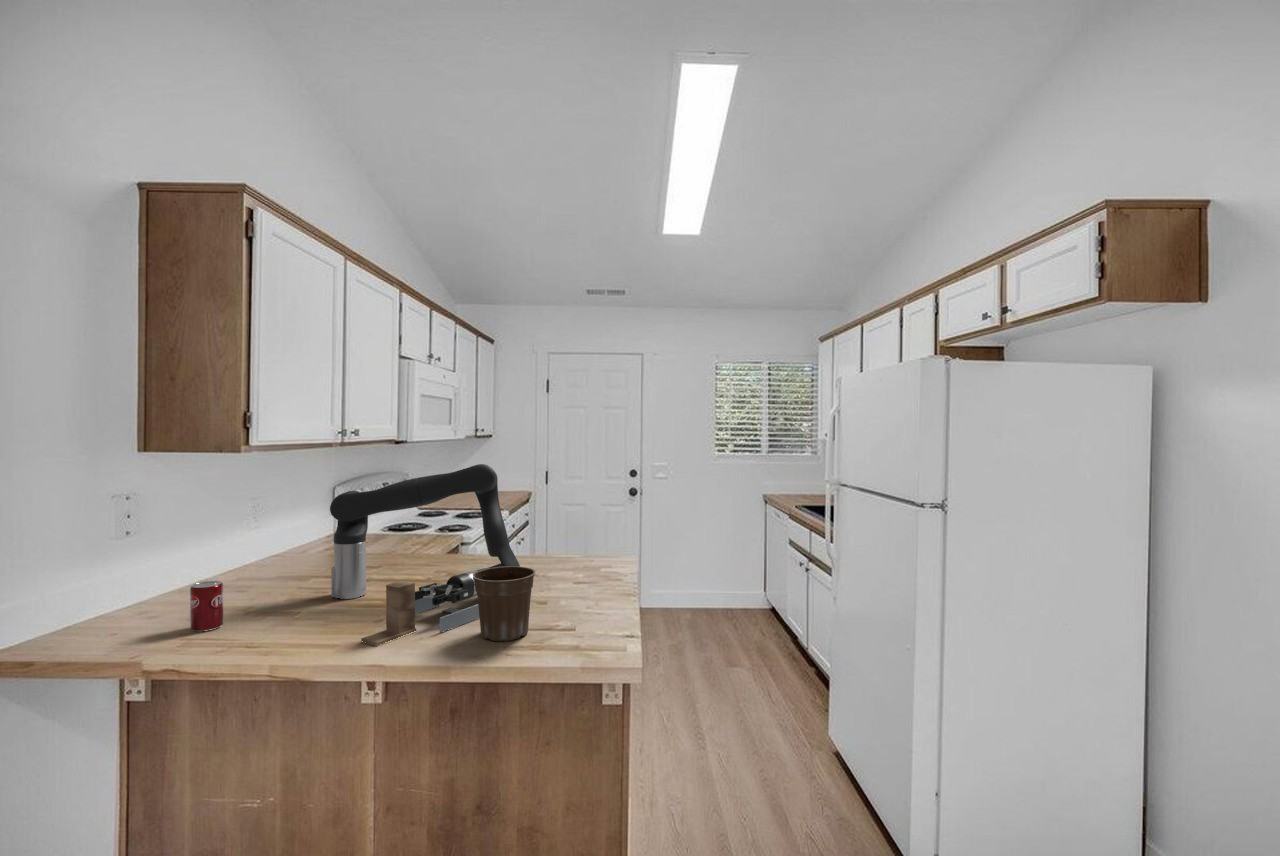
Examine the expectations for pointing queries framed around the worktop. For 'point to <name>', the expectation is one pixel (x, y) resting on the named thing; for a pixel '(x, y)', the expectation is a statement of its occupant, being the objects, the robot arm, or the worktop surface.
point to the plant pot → (504, 601)
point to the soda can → (206, 605)
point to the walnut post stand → (396, 613)
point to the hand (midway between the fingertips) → (422, 599)
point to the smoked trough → (452, 619)
